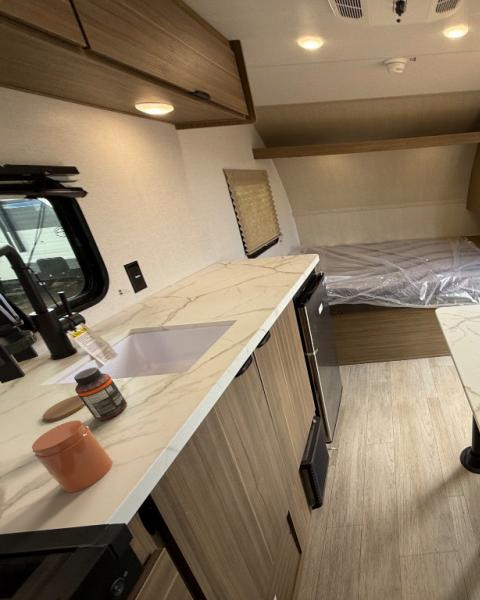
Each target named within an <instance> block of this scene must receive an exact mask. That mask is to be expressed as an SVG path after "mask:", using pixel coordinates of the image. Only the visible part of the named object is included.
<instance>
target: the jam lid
mask: <svg viewBox="0 0 480 600" xmlns="http://www.w3.org/2000/svg"><path fill="white" fill-rule="evenodd" d="M36 342H38V338H37V336H36V335H35V333H34V332H33V331H31V330H29V329H26V330H25V329H24V330H21V331H17V332H13V333H9V334H5V335H2V336H0V344H3V346H4V347H5V348H6V350H7V351H8V352H9V354H10V355H11V356H13V355H12V354H15V353H17V352H19V351H22V350H24V349H26V348H28V347H30V346H31V345H32V346H33V345H35V344H36Z"/></svg>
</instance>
